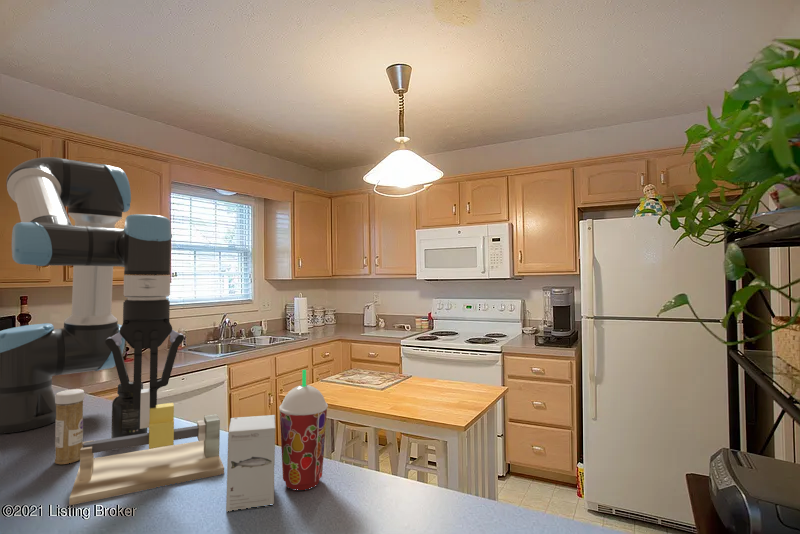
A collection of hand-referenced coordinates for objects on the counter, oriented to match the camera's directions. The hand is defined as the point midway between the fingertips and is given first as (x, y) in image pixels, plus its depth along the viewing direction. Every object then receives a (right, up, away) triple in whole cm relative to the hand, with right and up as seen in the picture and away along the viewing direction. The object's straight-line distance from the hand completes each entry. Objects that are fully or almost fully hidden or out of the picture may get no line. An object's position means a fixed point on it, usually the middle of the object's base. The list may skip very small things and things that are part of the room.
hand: (144, 425), depth 82 cm
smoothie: (+30, -9, -4) cm, 32 cm away
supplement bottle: (-13, -9, +16) cm, 23 cm away
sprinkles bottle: (-17, -9, +4) cm, 20 cm away
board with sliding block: (+1, -9, +1) cm, 9 cm away
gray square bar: (+1, -3, +1) cm, 4 cm away
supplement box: (+23, -9, -9) cm, 26 cm away
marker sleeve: (+2, -4, +1) cm, 5 cm away
